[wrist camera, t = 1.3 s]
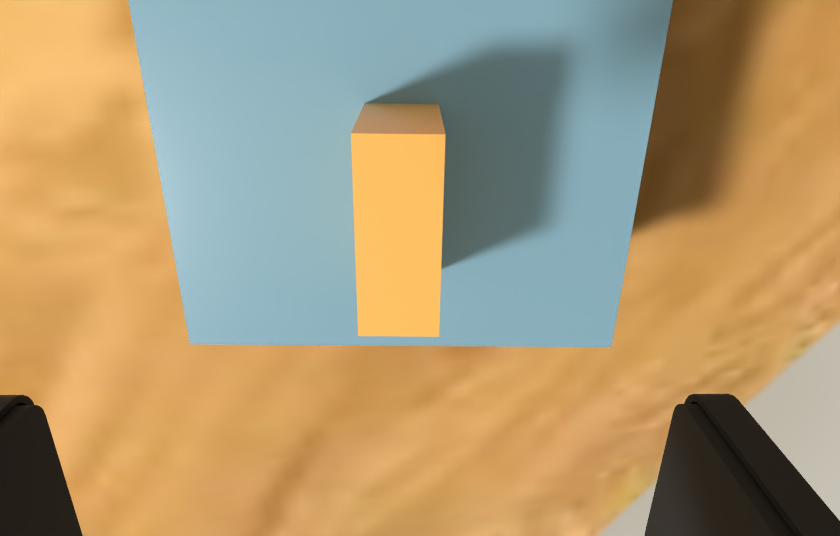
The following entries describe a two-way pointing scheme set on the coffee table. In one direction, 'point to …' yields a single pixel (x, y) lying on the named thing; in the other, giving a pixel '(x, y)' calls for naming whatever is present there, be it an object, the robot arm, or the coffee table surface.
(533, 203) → the tub lid
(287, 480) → the coffee table surface
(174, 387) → the coffee table surface
